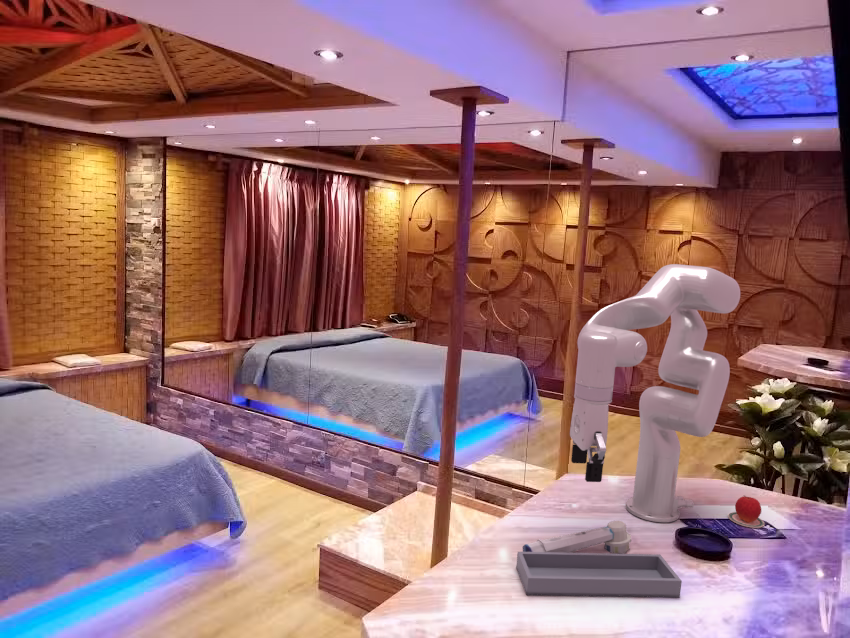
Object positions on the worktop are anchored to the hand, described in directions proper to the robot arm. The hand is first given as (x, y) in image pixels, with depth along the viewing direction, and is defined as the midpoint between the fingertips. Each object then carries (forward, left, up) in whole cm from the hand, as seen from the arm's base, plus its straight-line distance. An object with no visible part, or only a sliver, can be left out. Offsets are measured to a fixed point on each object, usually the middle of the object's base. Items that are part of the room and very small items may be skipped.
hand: (585, 471), depth 133 cm
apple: (-47, -17, -19) cm, 54 cm away
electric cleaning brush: (0, 0, -19) cm, 19 cm away
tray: (0, +11, -18) cm, 21 cm away
